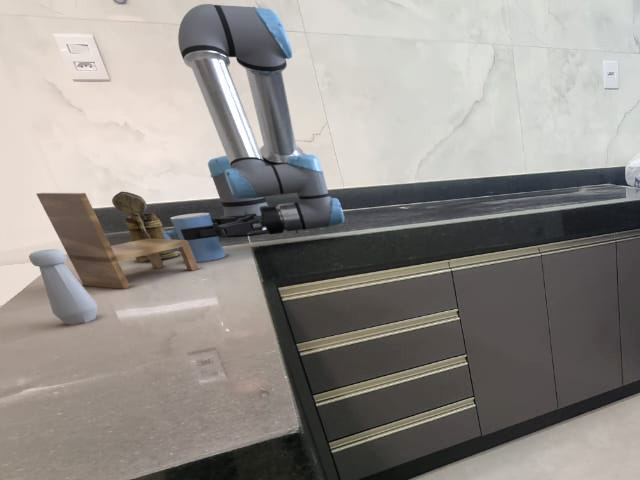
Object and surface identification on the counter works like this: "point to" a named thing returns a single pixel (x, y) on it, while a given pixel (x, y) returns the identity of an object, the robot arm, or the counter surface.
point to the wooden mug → (141, 222)
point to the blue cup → (199, 247)
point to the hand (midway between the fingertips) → (183, 231)
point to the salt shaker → (64, 288)
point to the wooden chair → (100, 242)
